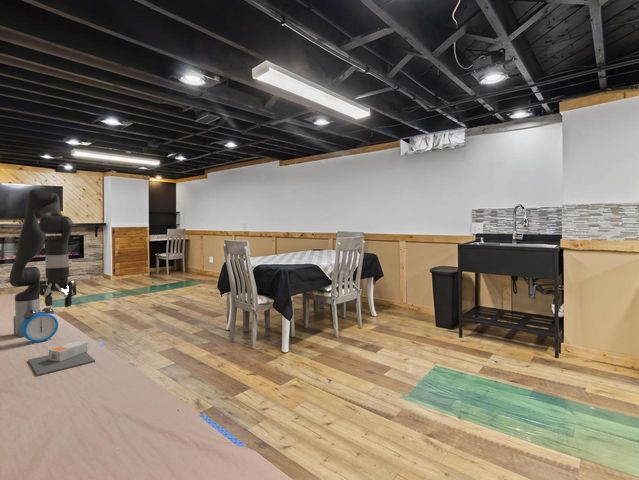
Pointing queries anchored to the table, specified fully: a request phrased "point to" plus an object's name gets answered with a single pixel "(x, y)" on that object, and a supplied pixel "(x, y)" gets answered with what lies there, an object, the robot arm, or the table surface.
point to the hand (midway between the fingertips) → (58, 306)
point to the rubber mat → (58, 363)
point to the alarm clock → (39, 325)
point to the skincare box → (68, 351)
